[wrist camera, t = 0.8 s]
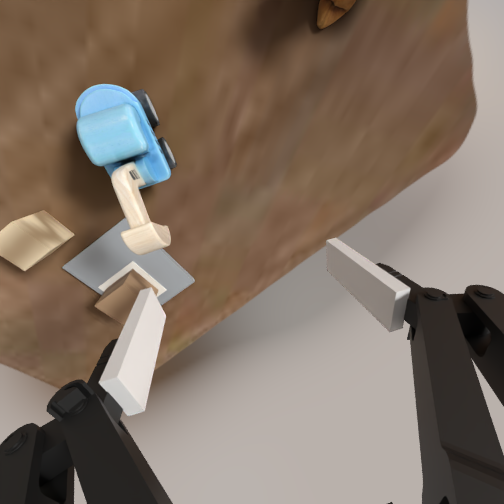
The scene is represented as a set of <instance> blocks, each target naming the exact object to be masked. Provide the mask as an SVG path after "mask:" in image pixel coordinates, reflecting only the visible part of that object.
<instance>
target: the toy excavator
mask: <svg viewBox="0 0 504 504" xmlns="http://www.w3.org/2000/svg"><path fill="white" fill-rule="evenodd" d="M75 111H76V115H77V118H78V121H77V134H78V137H79V140H80V143H81V145H82V147H83V149H84V150H85V152H86V154H87V156H88V157H89V159H90V160H91V162H92V163H93V164H95V165H97V166H104V167H105V169H106V171H107V173H108V174H109V176H110V177H111V181H112V185H113V188H114V190H115V193H116V195H117V198H118V200H119V202H120V205H121V207H122V210H123V212H124V215H125V217H126V219H127V222H128V224H129V226H130V229H129V230H126V231H123V232H121V237H122V239H123V241H124V243H125V244H126V246H127V247H128V248H129V249H130V250H131V251H132V252H133V253H135V254H137V255H144V254H147V253H150V252H153V251H156V250H158V249H161V248H164V247H167V246H169V245H170V243H171V237H170V232H169V229H168V227H167V226H161V225H159V224H156V223H153V222H150V219H149V216H148V214H147V211H146V208H145V206H144V203H143V200H142V197H141V195H140V192H139V189H142V188H145V187H148V186H151V185H153V184H156V183H159V182H162V181H165V180H167V179H168V178H169V177H170V176H171V171H170V169H173V168H175V167H176V165H177V163H176V161H175V159H174V156H173V154H172V152H171V150H170V149H169V146H168V145H167V143H166V140H165V139H164V138H163V137H162V138H160V139H158V140H157V139H156V137H155V134H154V132H153V130H152V127H155V126H158V125H160V124H159V120H158V117H157V115H156V111H155V109H154V107H153V105H152V102H151V100H150V98H149V96H148V95H147V93H146V92H145V91H144V90H143V89H141V90H138V91H135V92H132V93H130V92H129V91H128V90H126V89H124V88H122V87H119V86H116V85H112V84H100V85H95V86H92V87H90V88H88V89H87V90H85V91H84V92H83V93H82V94H81V95H80V97H79V98H78V100H77V102H76V107H75Z"/></svg>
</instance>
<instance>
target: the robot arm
mask: <svg viewBox="0 0 504 504" xmlns="http://www.w3.org/2000/svg"><path fill="white" fill-rule="evenodd" d="M326 247H327V271H328V272H329V273H330V274H331V275H332V276H333V277H334V278H335V279H336V280H337V281H338V282H339V283H341V284H342V286H343V287H344V288H345V289H346V290H347V291H348V292H350V294H351V295H353V296H354V297H355V298H356V299H357V300H358V301H359V302H360V303H361V304H362V305H363V306H364V307H365V308H366V309H367V310H368V311H369V312H370V313H371V314H372V315H373V316H374V317H375V318H376V319H377V320H378V321H379V322H380V323H381V324H382V325H383V326H384V327H385V328H386V329H387V330H388V331H389V332H392V331H395V330H398V329H401V328H403V323H404V320H405V321H406V322H407V323H408V324H410V328H409V333H408V337H407V340H410V344H411V355H412V365H413V375H414V386H415V397H416V408H417V419H418V430H419V440H420V451H421V462H422V473H423V492H422V504H504V455H503V452H502V449H501V446H500V443H499V440H498V437H497V434H496V431H495V428H494V425H493V422H492V419H491V417H490V413H489V410H488V407H487V404H486V401H485V399H484V395H483V392H482V389H481V386H480V383H479V380H478V377H477V374H476V371H475V368H474V365H473V362H472V360H473V361H474V363H475V364H476V366H477V367H478V369H479V370H480V372H481V373H482V375H483V376H484V378H485V379H486V381H487V382H488V384H489V385H490V387H491V388H492V389H493V391H494V393H495V394H496V396H497V397H498V399H499V400H500V402H501V403H502V405H503V406H504V294H503V293H501V292H499V291H498V290H496V289H494V288H491V287H488V286H483V285H470V286H468V287H467V288H466V290H465V293H464V294H447V293H445V292H444V291H441V290H439V289H435V288H423V287H421V286H419V285H418V284H416V283H415V282H413V281H411V280H410V279H408V278H407V277H405V276H404V275H401V274H400V273H399V272H396V270H394V269H393V268H391V267H389V266H387V265H384V264H381V263H378V264H374V263H372V262H371V261H369V260H368V259H367V258H365V257H364V256H362V255H360V254H359V253H357V252H356V251H354V250H353V249H352V248H350V247H349V246H347V245H346V244H344V243H343V242H341V241H340V240H338V239H337V238H333V239H329V240H326ZM165 319H166V315H165V313H164V311H163V309H162V307H161V305H160V303H159V301H158V299H157V297H156V295H155V293H154V291H153V289H152V287H151V288H147V289H143V290H140V292H139V294H138V297H137V299H136V301H135V303H134V305H133V308H132V310H131V312H130V314H129V317H128V319H127V321H126V323H125V325H124V328H123V330H122V332H121V334H120V336H119V338H118V339H115V340H112V341H111V342H110V343H109V344H108V345H107V346H106V348H105V349H104V351H103V353H102V355H101V357H100V359H99V361H98V363H97V366H96V367H95V369H94V371H93V373H92V375H91V377H90V379H89V381H88V383H87V384H86V383H85V382H84V381H83V380H75V381H72V382H70V383H68V384H67V385H65V386H63V387H62V388H61V389H60V390H59V391H57V392H56V394H55V395H54V396H53V397H52V398H51V400H50V401H49V403H48V405H47V412H48V413H49V414H51V415H52V416H53V417H54V418H55V419H54V420H52V421H50V422H49V423H47V424H45V425H43V426H42V427H39V426H37V425H36V424H34V423H30V424H26V425H24V426H22V427H20V428H18V429H17V430H16V431H14V432H13V433H12V434H10V435H9V436H8V437H7V438H6V439H5V440H4V441H3V442H2V444H1V445H0V504H74V466H75V469H76V472H77V475H78V478H79V481H80V484H81V487H82V490H83V493H84V496H85V499H86V501H87V504H173V503H172V502H171V500H170V499H169V497H168V495H167V493H166V492H165V490H164V489H163V487H162V485H161V484H160V482H159V481H158V479H157V477H156V476H155V474H154V473H153V471H152V469H151V468H150V466H149V464H148V463H147V461H146V459H145V458H144V456H143V455H142V453H141V451H140V450H139V448H138V446H137V445H136V443H135V442H134V440H133V438H132V437H131V435H130V434H129V432H128V430H127V429H126V427H125V426H124V424H123V422H122V421H121V420H120V417H121V414H122V411H124V412H125V413H126V414H127V415H128V416H131V415H134V414H137V413H140V412H143V411H145V407H146V402H147V398H148V393H149V389H150V385H151V380H152V375H153V372H154V367H155V363H156V358H157V354H158V350H159V345H160V341H161V336H162V332H163V328H164V323H165ZM471 358H472V359H471ZM388 504H393V503H392V502H390V503H388Z"/></svg>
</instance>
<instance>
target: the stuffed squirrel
mask: <svg viewBox="0 0 504 504" xmlns="http://www.w3.org/2000/svg"><path fill="white" fill-rule="evenodd" d="M355 1H356V0H320V2H319V9H318V17H317V26H318V27H319V28H320V29H323V28H325V27H328V26H329V25H331V24H332V23H334V22H335V21H336V20H338V19H339V18H340V17H341V16H343V15H344V14H345V13H346V12H347V11H348V10H349V9H350V8H351V7H352V6H353V4H354V3H355Z"/></svg>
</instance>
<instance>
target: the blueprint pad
mask: <svg viewBox="0 0 504 504" xmlns="http://www.w3.org/2000/svg"><path fill="white" fill-rule="evenodd" d="M129 229H130V226H129V224H128V222H127V219H126V217H125V218H124V219H123V220H122V221H120V222H119V223H118V224H116V225H115V226H114V227H113V228H111V229H110V230H109V231H108V232H106V233H105V234H104V235H102V236H101V237H100V238H99V239H97V240H96V241H95V242H94V243H92V244H91V245H90V246H88V247H87V248H86V249H85V250H83V251H82V252H81V253H80V254H78V255H77V256H76V257H74V258H73V259H72V260H71V261H69V262H68V263H67V264H65V265H64V266H63V267H62V268H63V269H65V270H66V271H68V272H69V273H71V274H72V275H73V276H75V277H76V278H78V279H79V280H81V281H82V282H83V283H85V284H86V285H88V286H89V287H91V288H92V289H93V290H95V291H96V292H98V293H99V294H101V295H102V294H103V293H104V292H105V290H106V289H107V288H108V287H109V286H110V285H112V284H113V283H114V282H116V281H117V280H118V279H120V278H121V277H122V276H124V275H125V274H126V273H128V272H129V271H130V270H132V269H134V270H135V271H136V272H137V273H139V274H140V275H141V276H142V277H143V278H145V279H146V280H147V281H148V282H150V283H151V284H152V285H153V286H154V287H156V288H157V289H158V293H157V296H156V297H157V299H158V301H159V303H160V305H163V304H164V303H165V302H167V301H168V300H170V299H171V298H172V297H174V296H175V295H176V294H178V293H179V292H181V291H182V290H183V289H185V288H186V287H188V286H189V285H190V284H192V283H193V282H195V279H194V278H193V277H192V276H191V275H190V274H189V273H188V272H187V271H185V270H184V269H183V268H182V267H181V266H180V265H179V264H178V263H177V262H176V261H175V260H174V259H173V258H172V257H171V256H170V255H169V254H168V253H167V252H166V251H165V250H163V249H162V248H161V249H158V250H156V251H153V252H150V253H147V254H144V255H137V254H135V253H133V252H132V251H131V250H130V249H129V248H128V247H127V246H126V244H125V243H124V241H123V239H122V237H121V232H123V231H126V230H129Z"/></svg>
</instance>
